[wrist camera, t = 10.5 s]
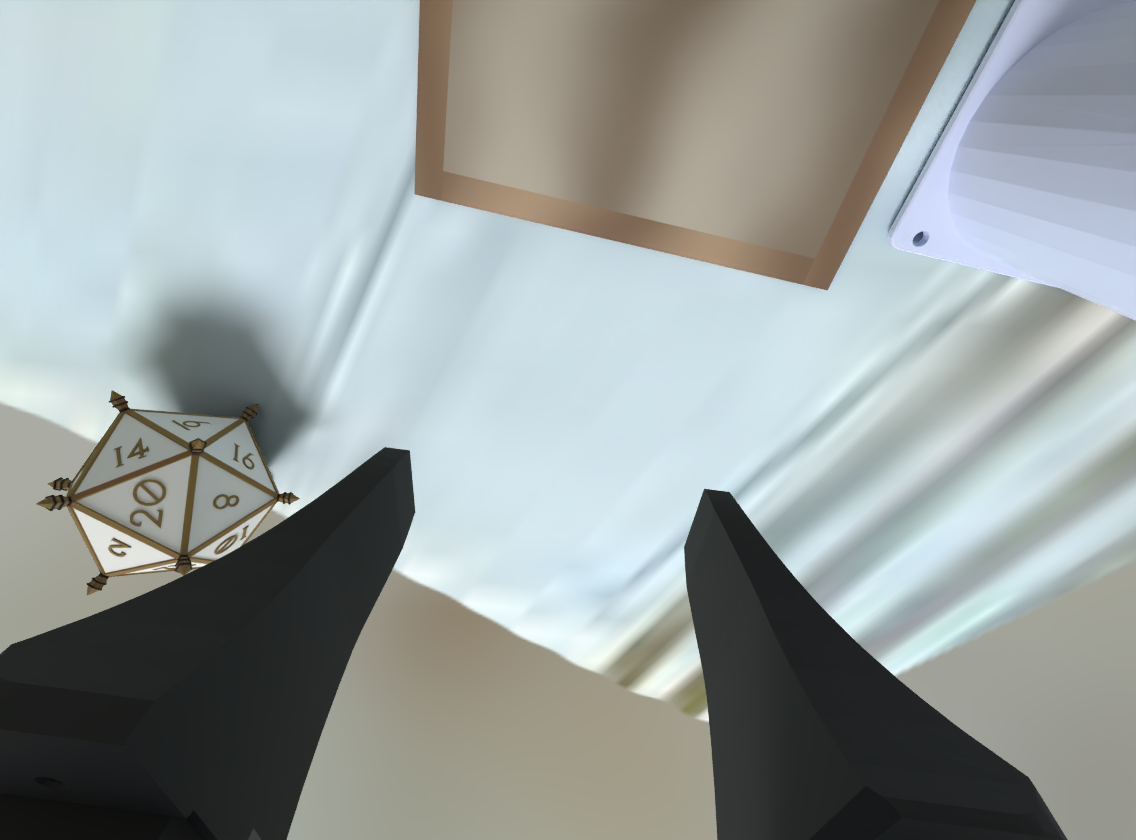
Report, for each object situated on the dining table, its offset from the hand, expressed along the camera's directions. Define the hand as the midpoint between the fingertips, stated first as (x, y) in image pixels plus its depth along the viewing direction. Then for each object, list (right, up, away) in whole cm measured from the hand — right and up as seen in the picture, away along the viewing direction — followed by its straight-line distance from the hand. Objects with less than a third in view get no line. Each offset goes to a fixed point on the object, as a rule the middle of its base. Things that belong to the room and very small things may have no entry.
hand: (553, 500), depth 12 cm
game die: (-17, +1, +14) cm, 22 cm away
